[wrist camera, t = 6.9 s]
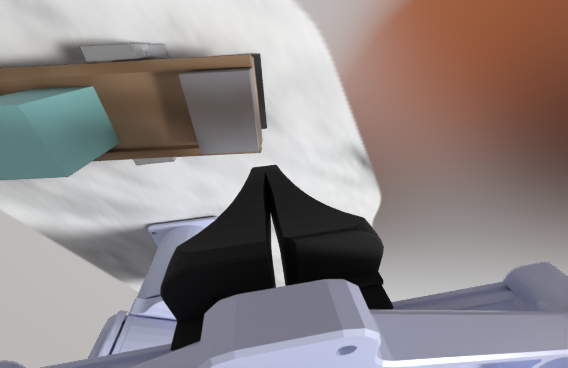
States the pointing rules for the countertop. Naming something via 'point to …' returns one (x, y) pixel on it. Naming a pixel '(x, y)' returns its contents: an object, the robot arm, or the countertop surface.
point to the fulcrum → (154, 53)
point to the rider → (52, 132)
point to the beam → (163, 103)
